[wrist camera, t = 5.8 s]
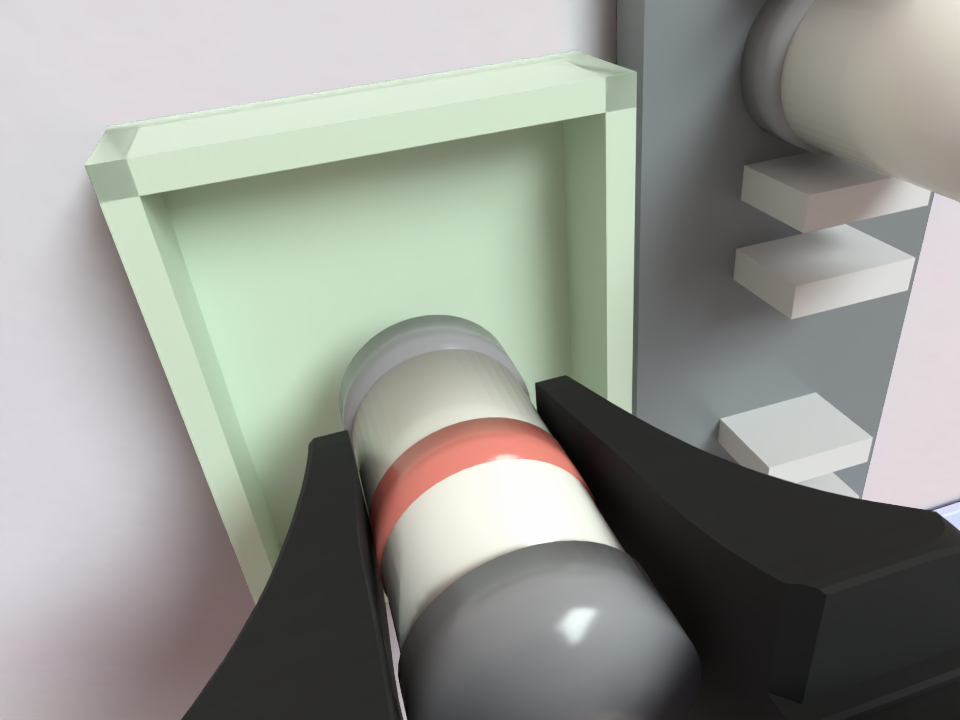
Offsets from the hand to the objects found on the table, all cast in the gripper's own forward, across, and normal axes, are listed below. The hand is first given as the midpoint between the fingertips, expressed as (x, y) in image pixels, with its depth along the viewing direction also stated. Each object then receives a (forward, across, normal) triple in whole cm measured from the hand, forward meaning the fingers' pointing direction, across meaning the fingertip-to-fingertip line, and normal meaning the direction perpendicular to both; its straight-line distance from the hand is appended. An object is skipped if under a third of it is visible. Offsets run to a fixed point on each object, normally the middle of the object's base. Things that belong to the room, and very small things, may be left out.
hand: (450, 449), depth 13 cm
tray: (+5, 0, 0) cm, 5 cm away
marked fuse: (+2, 0, 0) cm, 2 cm away
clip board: (+5, -10, +2) cm, 11 cm away
